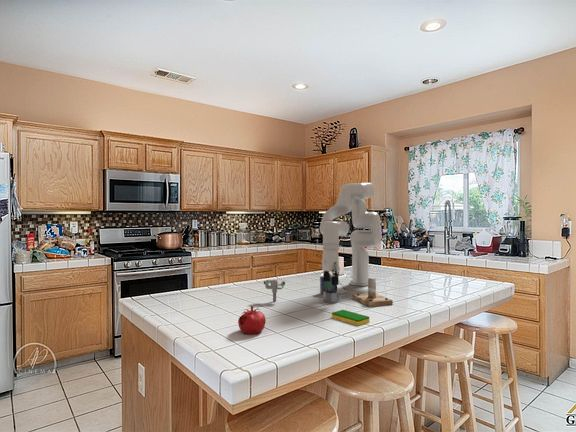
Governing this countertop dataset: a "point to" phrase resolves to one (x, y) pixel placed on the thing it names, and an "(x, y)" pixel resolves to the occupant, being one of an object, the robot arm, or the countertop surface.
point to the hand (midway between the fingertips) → (330, 282)
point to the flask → (326, 285)
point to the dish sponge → (350, 317)
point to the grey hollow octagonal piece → (331, 296)
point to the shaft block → (372, 296)
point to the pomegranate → (252, 321)
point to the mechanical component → (273, 287)
